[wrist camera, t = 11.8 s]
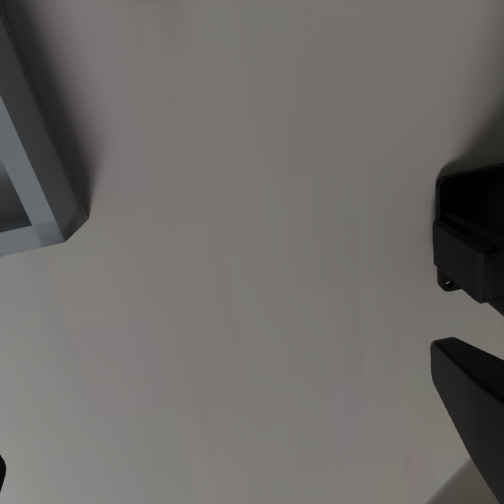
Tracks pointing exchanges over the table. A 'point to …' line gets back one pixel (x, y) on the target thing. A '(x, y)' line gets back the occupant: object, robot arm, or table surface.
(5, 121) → the tray
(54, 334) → the table surface
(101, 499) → the table surface
